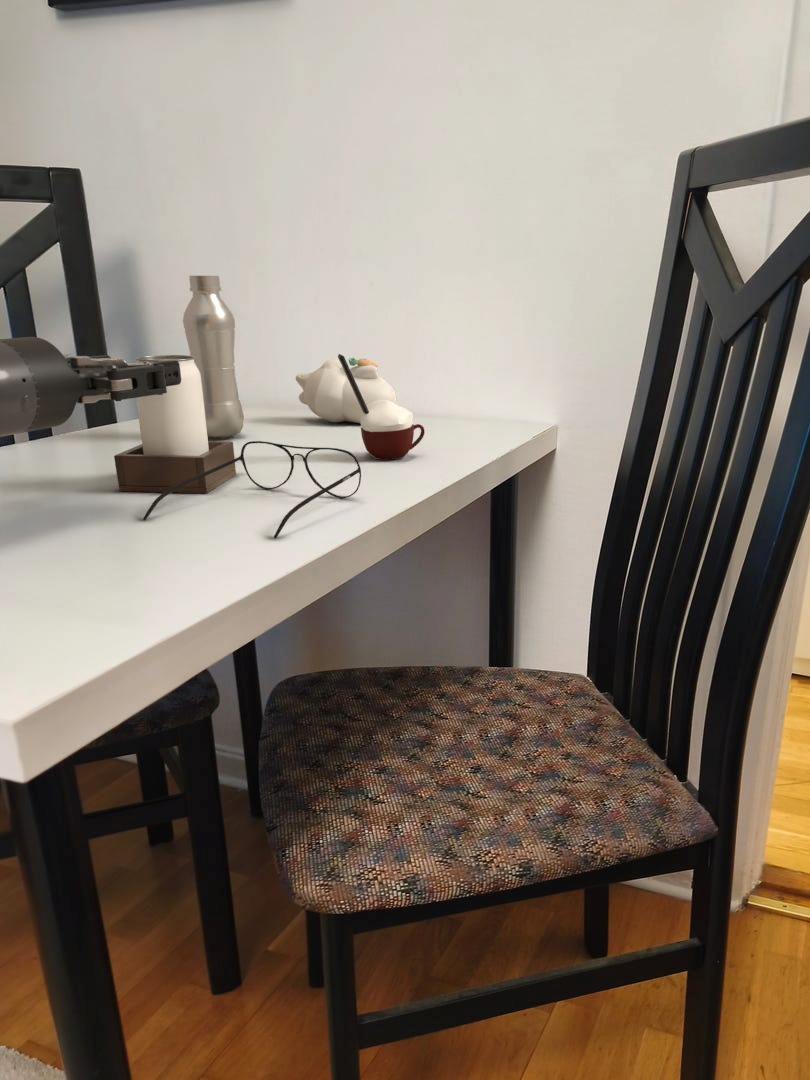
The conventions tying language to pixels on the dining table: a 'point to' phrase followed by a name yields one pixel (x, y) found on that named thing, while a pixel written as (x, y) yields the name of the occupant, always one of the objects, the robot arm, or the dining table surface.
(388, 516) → the dining table surface
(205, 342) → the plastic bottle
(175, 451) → the can
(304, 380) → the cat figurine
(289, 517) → the glasses
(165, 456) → the tray
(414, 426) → the cocoa
